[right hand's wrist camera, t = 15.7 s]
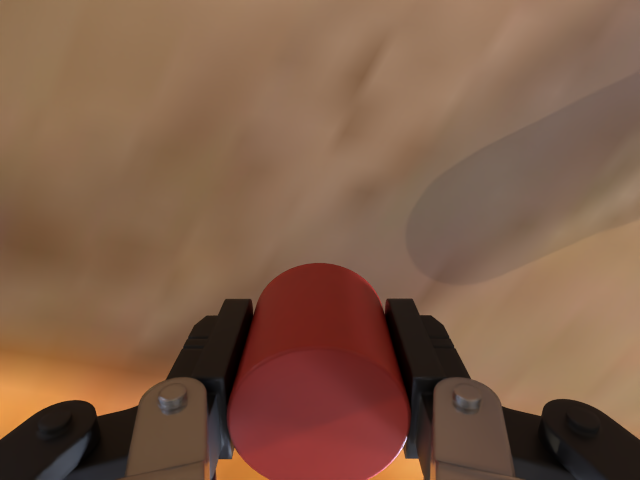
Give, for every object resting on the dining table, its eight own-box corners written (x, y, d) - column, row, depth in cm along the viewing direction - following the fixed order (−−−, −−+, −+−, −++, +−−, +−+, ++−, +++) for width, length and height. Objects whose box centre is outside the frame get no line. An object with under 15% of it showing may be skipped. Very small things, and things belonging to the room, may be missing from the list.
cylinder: (280, 386, 13) (264, 508, 10) (234, 283, 12) (195, 376, 8) (397, 355, 13) (430, 469, 9) (363, 245, 12) (385, 323, 8)
